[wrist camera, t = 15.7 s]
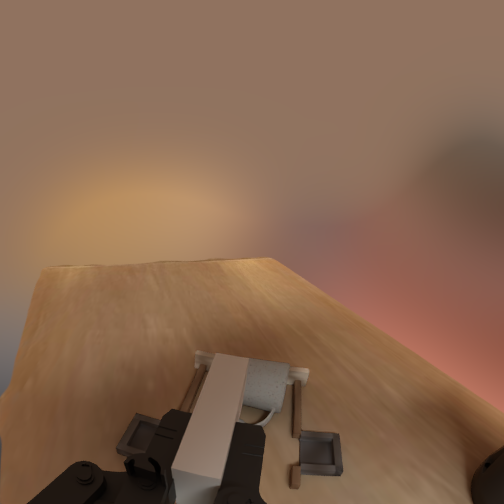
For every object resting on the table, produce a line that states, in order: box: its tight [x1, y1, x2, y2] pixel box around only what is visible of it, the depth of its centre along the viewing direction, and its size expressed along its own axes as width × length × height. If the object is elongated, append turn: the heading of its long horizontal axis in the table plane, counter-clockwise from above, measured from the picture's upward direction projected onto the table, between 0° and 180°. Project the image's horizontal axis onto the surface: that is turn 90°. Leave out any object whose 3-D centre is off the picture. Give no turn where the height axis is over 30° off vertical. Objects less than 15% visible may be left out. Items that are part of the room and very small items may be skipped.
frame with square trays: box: [116, 350, 343, 489], centre depth 40 cm, size 28×23×3 cm
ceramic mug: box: [239, 358, 290, 427], centre depth 43 cm, size 11×8×8 cm
